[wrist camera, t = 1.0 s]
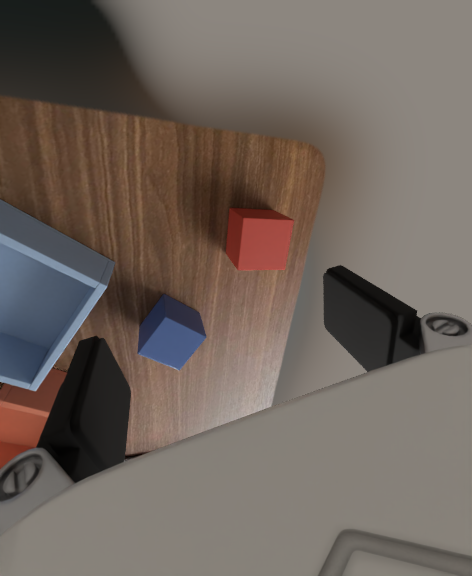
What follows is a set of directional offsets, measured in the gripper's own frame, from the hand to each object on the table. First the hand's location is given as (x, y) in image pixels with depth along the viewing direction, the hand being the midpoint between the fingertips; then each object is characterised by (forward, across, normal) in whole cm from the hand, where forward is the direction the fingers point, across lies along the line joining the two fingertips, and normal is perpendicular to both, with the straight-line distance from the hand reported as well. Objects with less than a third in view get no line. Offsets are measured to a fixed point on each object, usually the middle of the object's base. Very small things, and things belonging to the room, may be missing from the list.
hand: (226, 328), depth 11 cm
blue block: (+16, +4, +8) cm, 18 cm away
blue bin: (+16, +15, 0) cm, 21 cm away
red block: (+16, -6, +1) cm, 17 cm away
